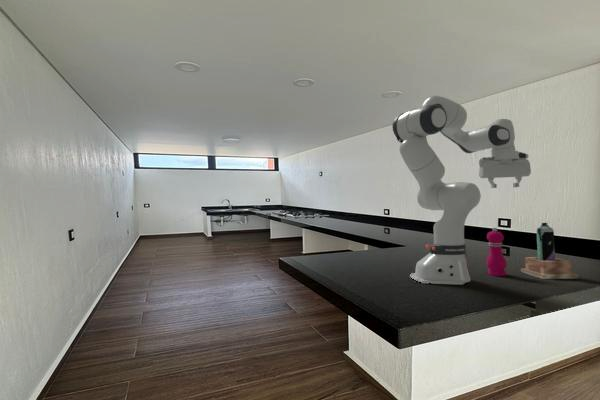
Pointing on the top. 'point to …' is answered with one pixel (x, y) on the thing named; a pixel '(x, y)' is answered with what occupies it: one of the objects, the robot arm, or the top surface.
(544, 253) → the spray can
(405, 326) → the top surface
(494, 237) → the pepper mill
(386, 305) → the top surface
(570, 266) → the can holder
